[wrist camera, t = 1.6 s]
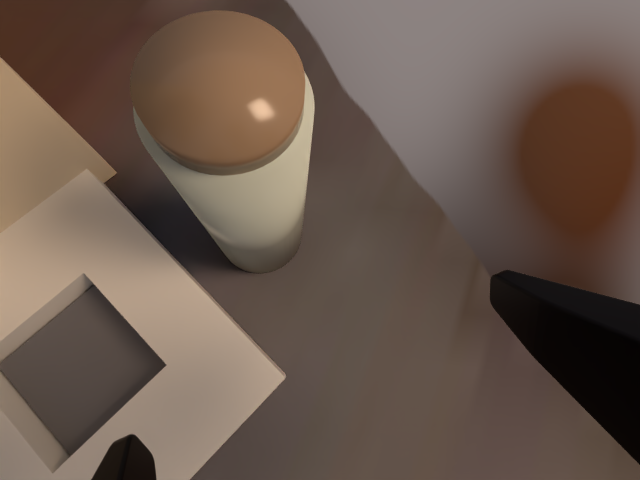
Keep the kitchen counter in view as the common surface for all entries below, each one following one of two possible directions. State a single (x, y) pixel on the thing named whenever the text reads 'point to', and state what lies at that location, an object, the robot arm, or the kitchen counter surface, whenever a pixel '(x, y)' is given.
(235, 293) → the kitchen counter surface
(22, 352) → the light wood frame
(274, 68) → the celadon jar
